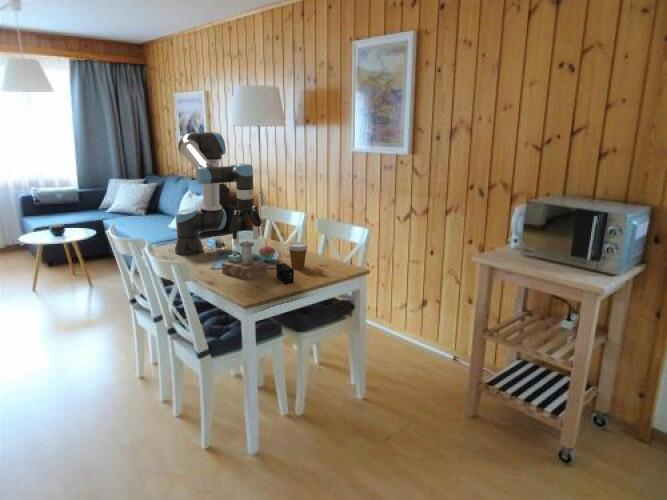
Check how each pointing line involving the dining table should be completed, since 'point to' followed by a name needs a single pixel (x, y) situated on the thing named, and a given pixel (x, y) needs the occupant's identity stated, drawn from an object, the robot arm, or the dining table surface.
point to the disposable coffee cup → (297, 254)
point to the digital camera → (285, 273)
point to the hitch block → (244, 269)
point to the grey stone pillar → (247, 252)
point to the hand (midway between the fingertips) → (246, 242)
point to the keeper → (235, 258)
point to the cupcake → (267, 252)
